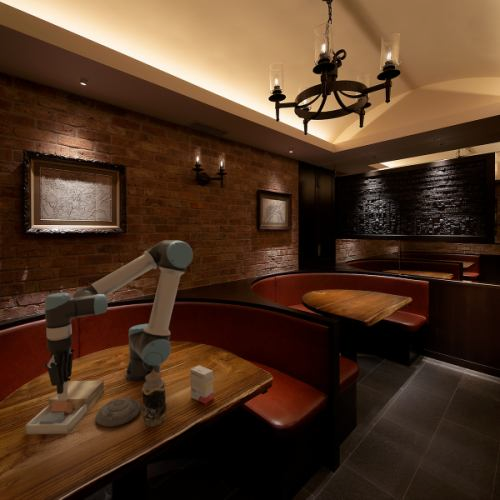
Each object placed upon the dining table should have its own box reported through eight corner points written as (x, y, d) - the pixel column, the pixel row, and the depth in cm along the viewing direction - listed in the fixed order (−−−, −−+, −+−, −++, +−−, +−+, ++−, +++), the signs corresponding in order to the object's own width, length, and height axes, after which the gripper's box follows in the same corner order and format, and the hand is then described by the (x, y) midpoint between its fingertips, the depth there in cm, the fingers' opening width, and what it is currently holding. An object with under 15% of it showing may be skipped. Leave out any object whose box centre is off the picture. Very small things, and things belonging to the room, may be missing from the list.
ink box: (214, 398, 114) (213, 370, 113) (205, 404, 110) (205, 375, 109) (199, 391, 119) (198, 364, 118) (190, 397, 115) (189, 369, 114)
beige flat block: (104, 391, 119) (103, 380, 119) (86, 411, 106) (86, 398, 106) (70, 392, 119) (69, 381, 119) (49, 412, 106) (48, 399, 106)
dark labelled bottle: (143, 431, 96) (140, 359, 94) (140, 417, 103) (138, 350, 101) (169, 422, 100) (167, 353, 98) (165, 410, 107) (163, 345, 105)
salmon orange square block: (71, 413, 104) (74, 404, 106) (64, 411, 100) (67, 401, 102) (57, 413, 104) (60, 404, 106) (50, 411, 100) (53, 402, 102)
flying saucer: (111, 436, 94) (110, 420, 94) (87, 420, 102) (86, 405, 102) (149, 411, 107) (148, 397, 106) (125, 399, 115) (124, 386, 114)
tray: (86, 411, 106) (86, 403, 106) (67, 433, 95) (67, 424, 95) (49, 412, 106) (48, 404, 106) (25, 434, 95) (24, 425, 95)
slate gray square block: (54, 421, 95) (54, 429, 96) (64, 411, 100) (64, 419, 101) (39, 421, 96) (39, 429, 96) (50, 411, 100) (50, 419, 101)
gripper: (60, 330, 108) (63, 390, 110) (35, 344, 95) (39, 411, 97) (80, 330, 108) (83, 389, 110) (58, 343, 95) (61, 411, 97)
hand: (62, 399), depth 103 cm, fingers closed
